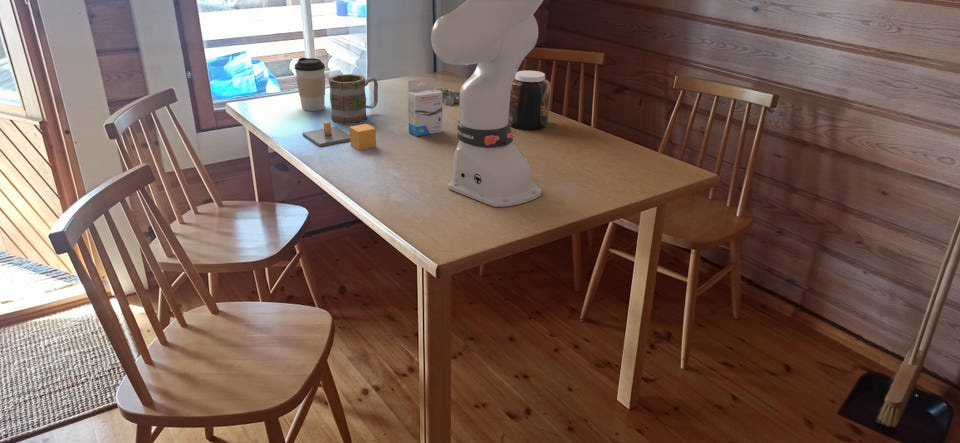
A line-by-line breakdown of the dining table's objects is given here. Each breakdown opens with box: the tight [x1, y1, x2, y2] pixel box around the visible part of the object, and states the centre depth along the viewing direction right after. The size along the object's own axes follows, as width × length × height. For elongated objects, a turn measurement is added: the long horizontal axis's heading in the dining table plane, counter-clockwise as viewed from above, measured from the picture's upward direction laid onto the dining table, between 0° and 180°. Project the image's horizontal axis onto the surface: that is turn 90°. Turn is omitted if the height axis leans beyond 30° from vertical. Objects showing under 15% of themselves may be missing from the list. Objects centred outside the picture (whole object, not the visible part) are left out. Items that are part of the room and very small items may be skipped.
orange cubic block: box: [348, 123, 377, 151], centre depth 177 cm, size 5×5×5 cm
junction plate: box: [302, 121, 350, 148], centre depth 183 cm, size 11×10×4 cm
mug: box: [328, 73, 379, 125], centre depth 198 cm, size 16×11×12 cm
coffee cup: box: [294, 57, 326, 112], centre depth 205 cm, size 9×9×15 cm
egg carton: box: [434, 87, 461, 106], centre depth 219 cm, size 11×8×4 cm
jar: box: [508, 70, 551, 131], centre depth 195 cm, size 12×12×15 cm
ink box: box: [407, 77, 443, 137], centre depth 187 cm, size 8×5×15 cm, turn 123°
